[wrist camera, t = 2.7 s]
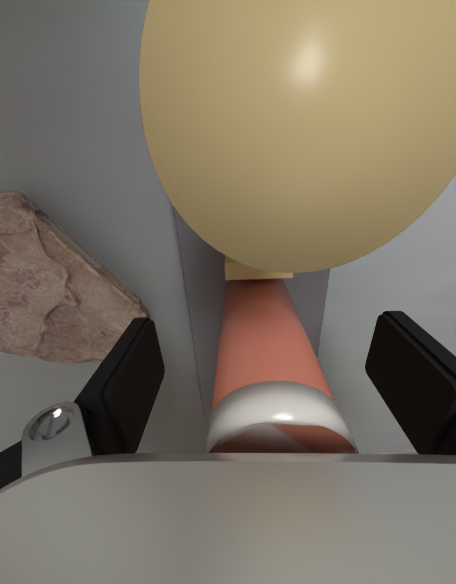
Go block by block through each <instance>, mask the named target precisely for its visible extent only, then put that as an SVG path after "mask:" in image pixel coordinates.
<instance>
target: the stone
mask: <svg viewBox="0 0 456 584" xmlns="http://www.w3.org/2000/svg"><path fill="white" fill-rule="evenodd" d="M139 317H148V313H147V310H146V309H144V306H143V305H141V301H140V299H139V298H138V297H137V296H136V295H135V294H134V293H133V292H132V291H131V290H130V289H129V288H127V287H126V286H125V285H124V284H122V283H121V282H120V281H119V280H118V279H117V278H116V277H114V276H113V275H112V274H111V273H110V272H109V271H107V270H106V269H105V268H104V267H103V266H102V265H101V264H100V263H99V262H97V261H96V260H95V259H94V258H93V257H92V256H90V255H89V254H88V253H87V252H86V251H85V250H84V249H83V248H82V247H81V246H80V245H79V244H77V243H76V242H75V241H74V240H73V239H72V238H71V237H70V236H69V235H68V234H67V233H66V232H65V231H64V230H62V229H61V228H60V227H59V226H58V225H57V224H56V223H55V222H54V221H53V220H51V219H50V218H48V217H47V216H46V215H45V214H44V213H42V211H41V210H40V209H39V208H38V207H37V206H35V204H34V203H32V202H31V201H30V200H28V199H27V197H26V196H25V195H24V194H23V193H22V192H15V191H13V192H2V193H1V192H0V351H2V352H6V353H10V354H17V355H21V356H34V355H35V356H36V357H38V358H40V359H43V360H46V361H51V362H59V363H62V364H65V363H69V362H74V363H76V362H78V363H80V362H83V361H90V360H97V359H99V360H104V359H105V357H106V356H107V355H108V353H109V352H110V351H111V349H112V348H113V346H114V345H115V344H116V342H117V341H118V339H119V338H120V337H121V335H122V334H123V332H124V331H125V330H126V328H127V327H128V325H129V324H130V323H131V321H132V320H133V319H134V318H139Z"/></svg>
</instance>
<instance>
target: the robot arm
mask: <svg viewBox="0 0 456 584" xmlns="http://www.w3.org/2000/svg"><path fill="white" fill-rule="evenodd" d="M365 369H366V373H367V375H368V376H369V378H370V379H371V381H372V383H373V384H374V386H375V387H376V389H377V390H378V392H379V393H380V395H381V397H382V398H383V400H384V401H385V403H386V404H387V406H388V408H389V409H390V411H391V412H392V414H393V415H394V417H395V419H396V420H397V422H398V423H399V425H400V426H401V428H402V429H403V431H404V433H405V434H406V436H407V437H408V439H409V440H410V442H411V444H412V445H413V447H414V448H415V450H416V451H417V453H418V454H419V455H417V454H415V455H414V454H409V455H408V454H327V453H139V454H135V453H136V451H137V449H138V446H139V443H140V440H141V438H142V435H143V432H144V429H145V427H146V424H147V421H148V418H149V416H150V413H151V410H152V407H153V404H154V402H155V399H156V396H157V393H158V391H159V388H160V385H161V382H162V380H163V377H164V364H163V359H162V355H161V351H160V346H159V342H158V337H157V333H156V328H155V324H154V321H150V319H149V318H148V317H139V318H134V319H133V320H132V321H131V323H130V324H129V325H128V327H127V328H126V330H125V331H124V332H123V334H122V335H121V337H120V338H119V339H118V341H117V342H116V344H115V345H114V346H113V348H112V349H111V351H110V352H109V353H108V355H107V356H106V357H105V359H104V360H103V362H102V363H101V364H100V366H99V367H98V369H97V370H96V371H95V373H94V374H93V376H92V377H91V378H90V380H89V381H88V383H87V384H86V385H85V387H84V388H83V390H82V391H81V392H80V394H79V395H78V397H77V398H76V399H75V401H74V402H68V401H66V402H60V403H57V404H54V405H52V406H49V407H48V408H46V409H44V410H42V411H41V412H40V413H38V414H37V415H36V416H35V417H34V418H33V419H32V420H31V421H30V422H29V423H28V424H27V426H26V428H25V429H24V431H23V435H22V440H21V441H20V442H18V443H16V444H14V445H12V446H11V447H9V448H7V449H5V450H4V451H2V452H0V584H456V357H455V356H454V355H453V354H452V353H451V352H450V351H448V350H447V349H446V348H445V347H444V346H443V345H441V344H440V343H439V342H438V341H437V340H435V339H434V338H433V337H432V336H431V335H430V334H428V333H427V332H426V331H425V330H424V329H422V328H421V327H420V326H419V325H418V324H417V323H415V322H414V321H413V320H412V319H411V318H410V317H408V316H407V315H406V314H405V313H404V312H402V311H385V312H383V313H382V315H379V316H378V319H377V323H376V326H375V330H374V334H373V338H372V341H371V345H370V349H369V353H368V357H367V360H366V364H365Z"/></svg>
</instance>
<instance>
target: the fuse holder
mask: <svg viewBox="0 0 456 584" xmlns="http://www.w3.org/2000/svg"><path fill="white" fill-rule="evenodd" d="M139 98H140V107H141V115H142V123H143V129H144V133H145V137H146V142H147V146H148V150H149V153H150V156H151V159H152V162H153V165H154V168H155V170H156V173H157V175H158V177H159V180H160V182H161V184H162V186H163V188H164V190H165V192H166V194H167V196H168V197H169V199H170V200H171V202H172V204H173V208H174V215H175V222H176V228H177V235H178V242H179V249H180V255H181V262H182V269H183V276H184V283H185V289H186V296H187V303H188V310H189V316H190V323H191V330H192V337H193V343H194V350H195V357H196V364H197V370H198V377H199V384H200V391H201V398H202V404H203V411H204V416H210V415H211V413H212V404H213V394H214V385H215V375H216V366H217V357H218V347H219V338H220V328H221V319H222V310H223V300H224V291H225V287H226V285H227V282H228V281H229V280H245V279H274V278H282V279H283V280H284V282H285V284H286V287H287V289H288V291H289V294H290V296H291V298H292V301H293V303H294V306H295V308H296V310H297V313H298V315H299V317H300V320H301V322H302V325H303V327H304V329H305V332H306V334H307V337H308V339H309V341H310V344H311V346H312V348H313V351H314V353H315V356H316V358H317V353H318V347H319V340H320V333H321V326H322V320H323V313H324V306H325V299H326V292H327V286H328V279H329V272H330V268H333V267H336V266H339V265H342V264H346V263H349V262H351V261H354V260H356V259H358V258H360V257H362V256H365V255H367V254H369V253H371V252H372V251H374V250H376V249H377V248H379V247H381V246H383V245H384V244H386V243H387V242H389V241H390V240H392V239H393V238H394V237H396V236H397V235H398V234H400V233H401V232H403V231H404V230H405V229H406V228H407V227H408V226H410V225H411V224H412V223H413V222H414V221H415V220H416V219H418V218H419V217H420V216H421V215H422V214H423V213H424V212H425V211H426V210H427V209H428V207H429V206H430V205H431V204H432V203H433V202H434V201H435V200H436V199H437V198H438V197H439V195H440V194H441V193H442V192H443V190H444V189H445V188H446V186H447V185H448V184H449V183H450V181H451V180H452V179H453V178H454V176H455V174H456V0H149V3H148V7H147V12H146V17H145V22H144V28H143V33H142V39H141V51H140V62H139Z"/></svg>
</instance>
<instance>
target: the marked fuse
mask: <svg viewBox="0 0 456 584" xmlns="http://www.w3.org/2000/svg"><path fill="white" fill-rule="evenodd" d="M205 453H327V454H359V452H358V450H357V447H356V445H355V443H354V440H353V438H352V436H351V433H350V431H349V429H348V426H347V424H346V422H345V419H344V417H343V415H342V412H341V410H340V408H339V406H338V405H337V404H336V403H335V401H334V398H333V396H332V394H331V391H330V389H329V386H328V384H327V382H326V379H325V377H324V375H323V372H322V370H321V367H320V365H319V363H318V360H317V358H316V356H315V353H314V351H313V348H312V346H311V344H310V341H309V339H308V337H307V334H306V332H305V329H304V327H303V325H302V322H301V320H300V317H299V315H298V313H297V310H296V308H295V306H294V303H293V301H292V298H291V296H290V294H289V291H288V289H287V287H286V284H285V282H284V280H283V279H282V278H274V279H245V280H229V281H228V282H227V285H226V287H225V291H224V300H223V310H222V319H221V328H220V338H219V347H218V357H217V366H216V375H215V385H214V394H213V404H212V413H211V415H210V418H209V424H208V433H207V442H206V451H205Z"/></svg>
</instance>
